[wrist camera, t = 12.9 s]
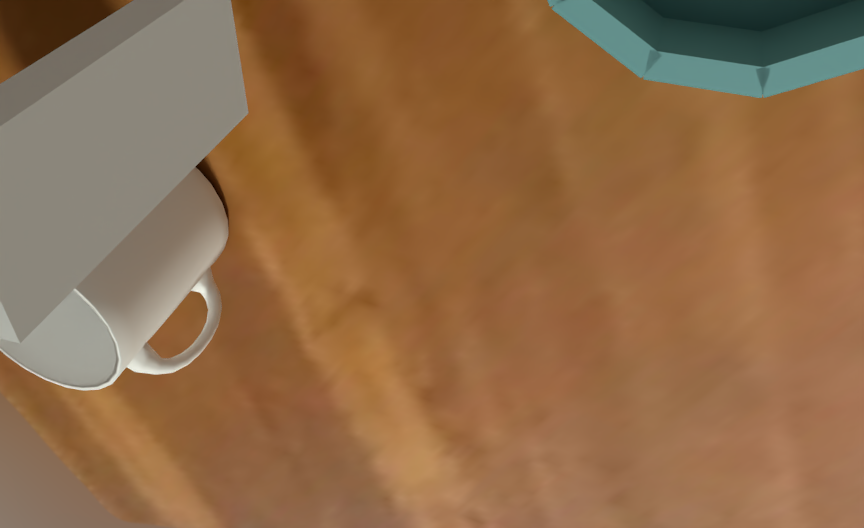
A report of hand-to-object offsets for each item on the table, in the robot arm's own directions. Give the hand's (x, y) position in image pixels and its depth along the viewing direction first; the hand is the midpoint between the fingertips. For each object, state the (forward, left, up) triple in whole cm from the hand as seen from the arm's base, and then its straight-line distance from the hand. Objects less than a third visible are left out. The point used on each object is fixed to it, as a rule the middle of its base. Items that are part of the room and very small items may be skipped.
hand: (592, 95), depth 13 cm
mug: (+23, -25, -22) cm, 40 cm away
